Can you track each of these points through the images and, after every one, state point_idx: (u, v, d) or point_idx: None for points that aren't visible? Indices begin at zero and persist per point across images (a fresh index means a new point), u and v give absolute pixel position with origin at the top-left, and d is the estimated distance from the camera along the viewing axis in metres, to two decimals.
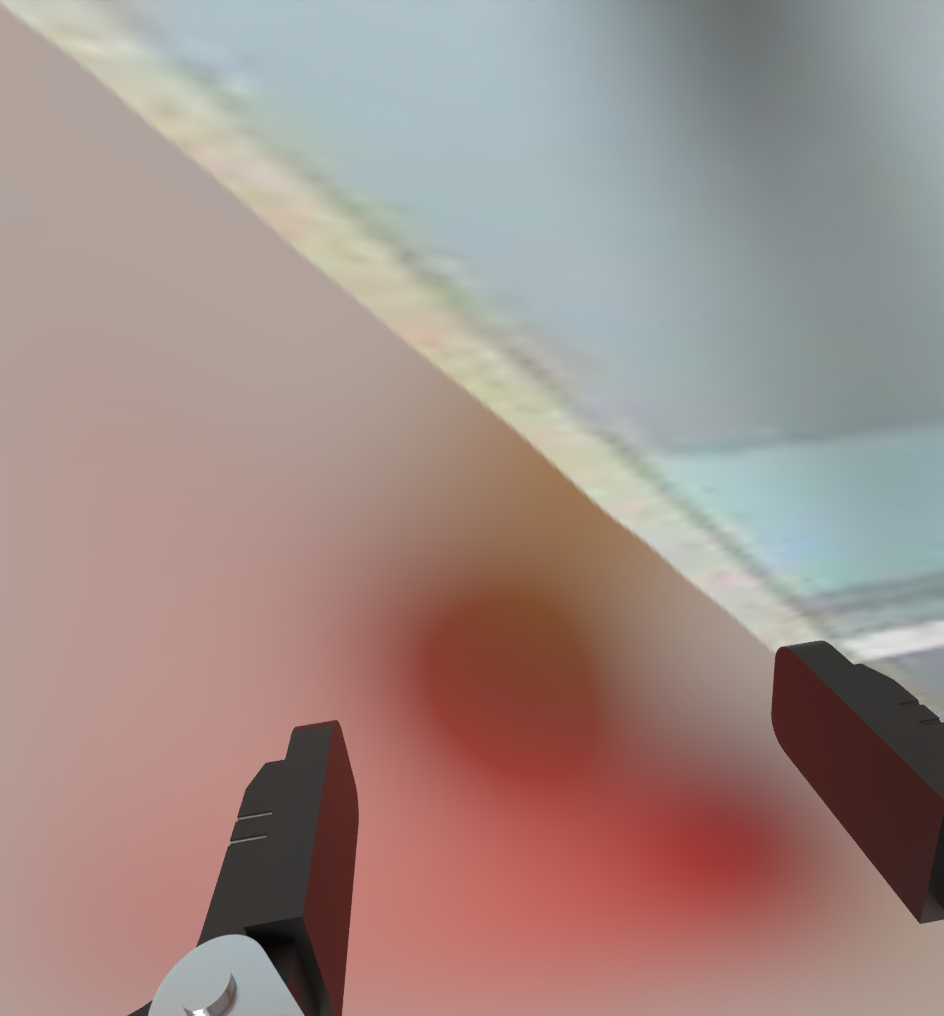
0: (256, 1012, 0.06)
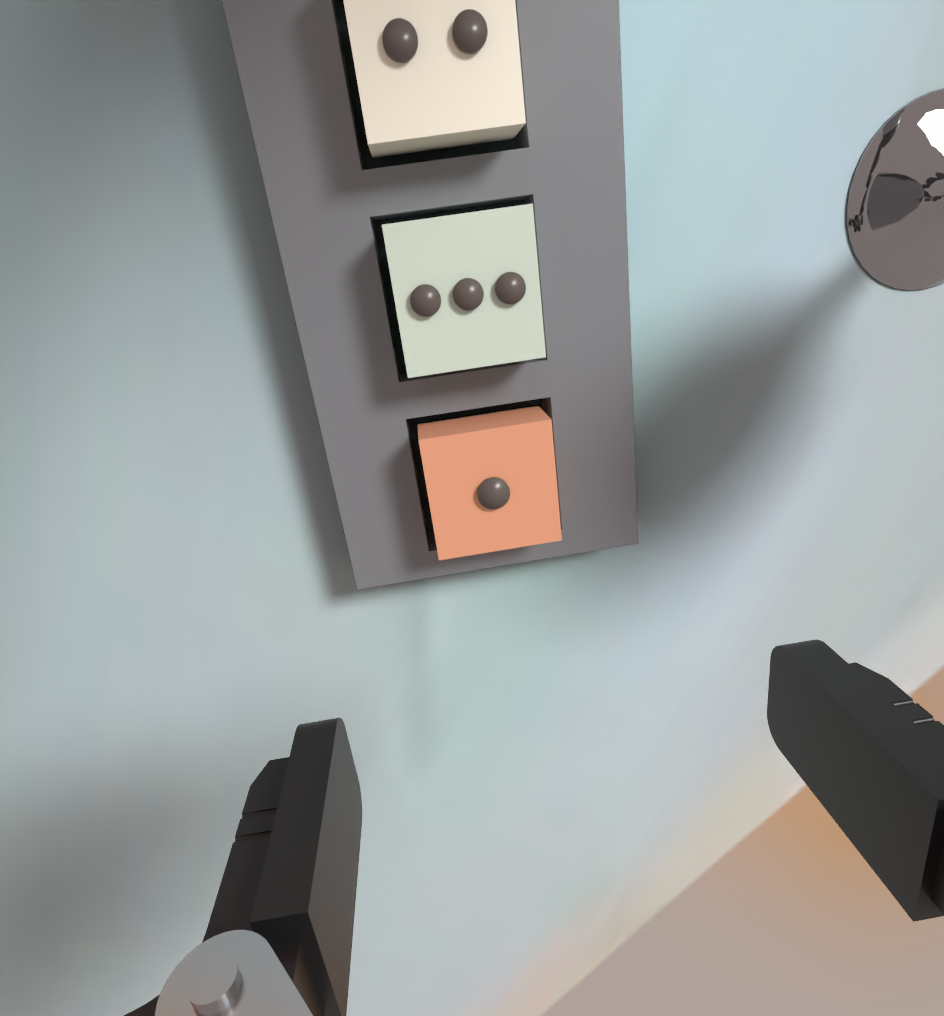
0: (263, 1006, 0.06)
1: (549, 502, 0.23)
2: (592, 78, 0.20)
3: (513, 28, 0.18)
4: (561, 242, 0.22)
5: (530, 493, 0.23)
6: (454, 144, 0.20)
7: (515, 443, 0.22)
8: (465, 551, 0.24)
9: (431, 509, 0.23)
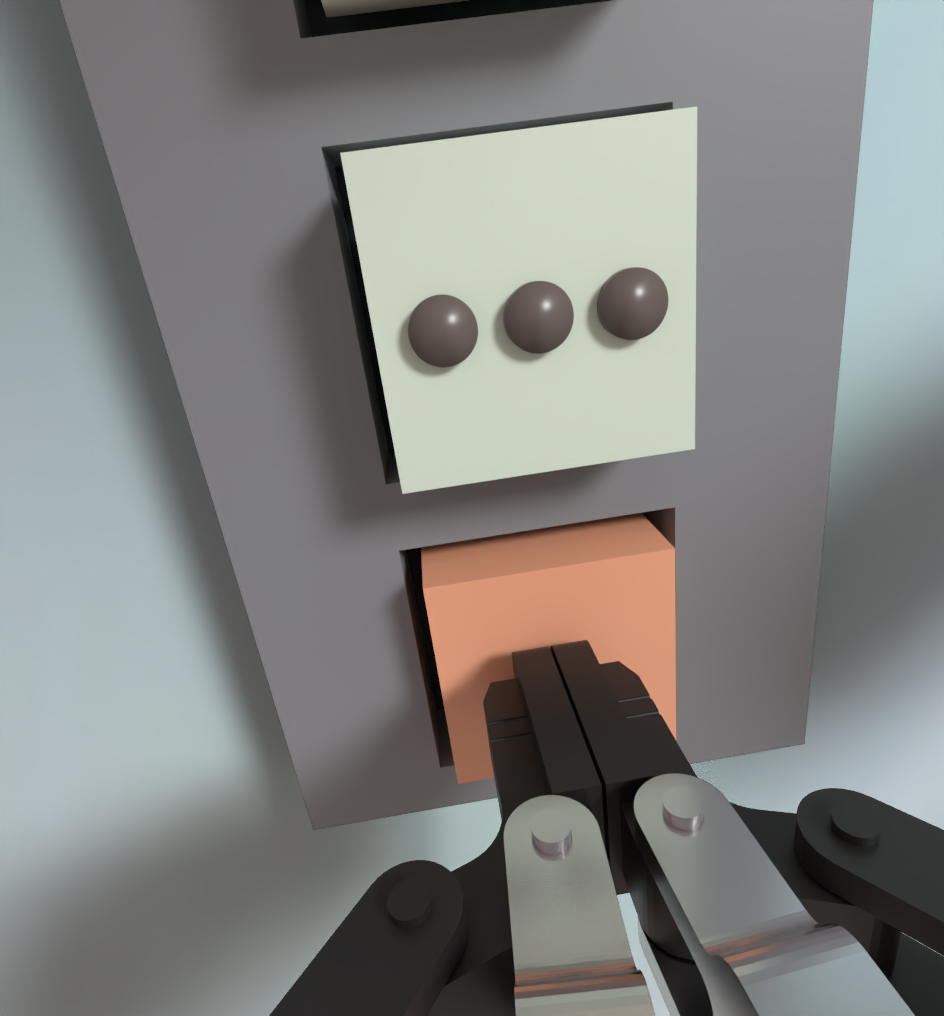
0: (603, 848, 0.07)
1: (659, 687, 0.13)
2: None
3: None
4: (722, 207, 0.10)
5: None
6: None
7: (605, 591, 0.12)
8: None
9: (445, 704, 0.12)
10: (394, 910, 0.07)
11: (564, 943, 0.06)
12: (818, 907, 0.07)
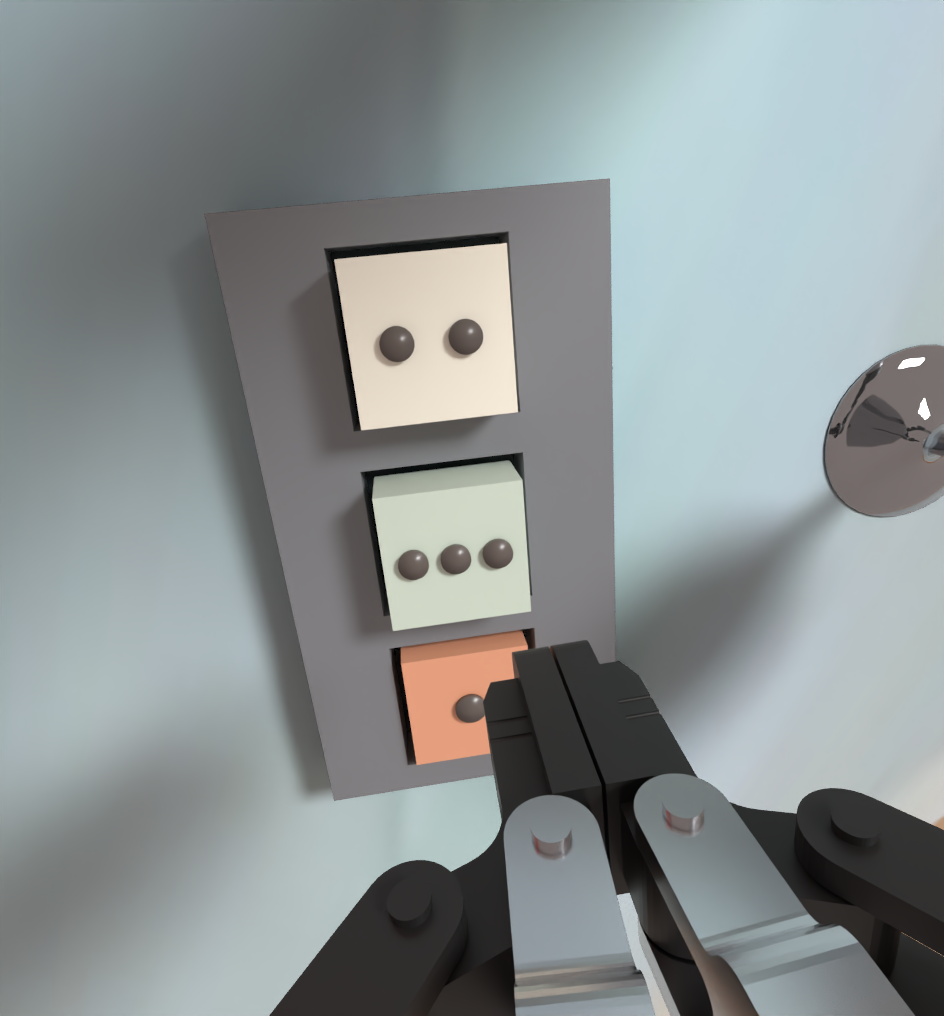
0: (603, 848, 0.07)
1: None
2: (584, 353, 0.20)
3: (508, 333, 0.18)
4: (549, 493, 0.22)
5: None
6: None
7: (493, 665, 0.24)
8: (442, 757, 0.25)
9: (411, 722, 0.24)
10: (394, 910, 0.07)
11: (564, 943, 0.06)
12: (818, 907, 0.07)
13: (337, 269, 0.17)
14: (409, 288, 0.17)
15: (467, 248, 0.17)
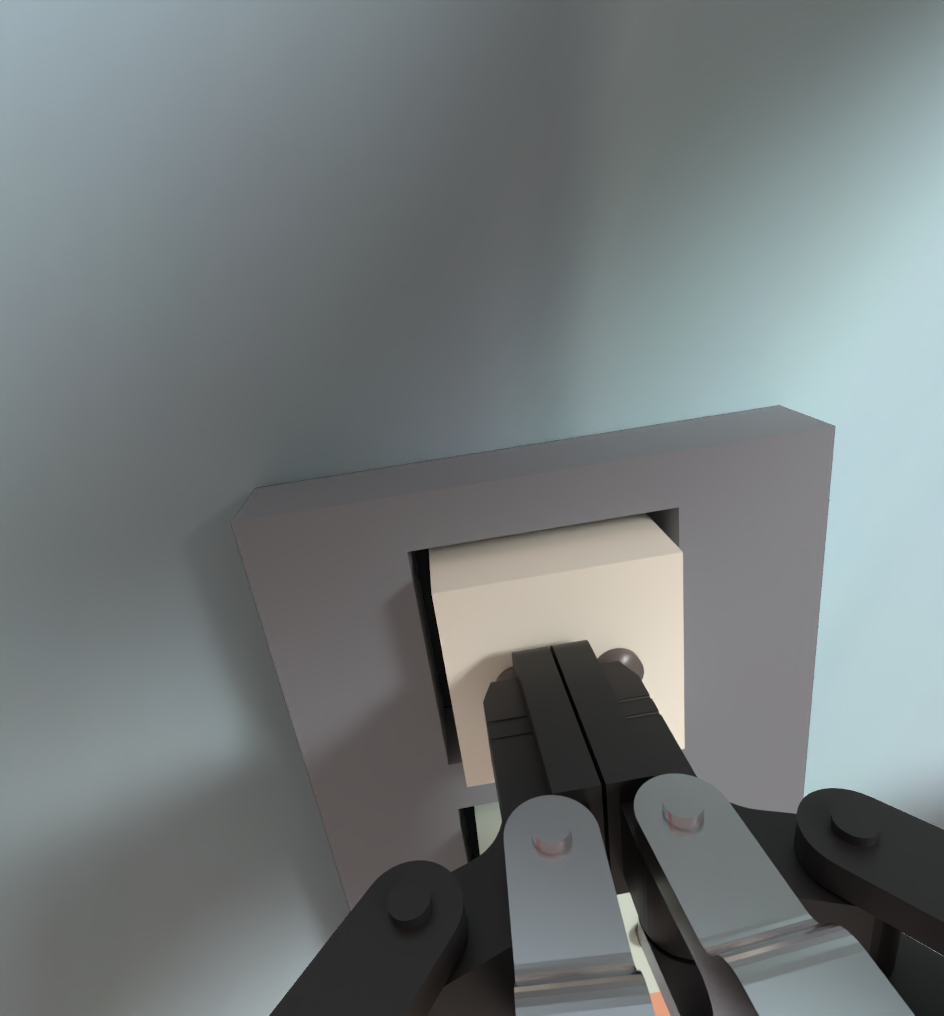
0: (603, 848, 0.07)
1: None
2: (776, 648, 0.14)
3: (678, 660, 0.13)
4: None
5: None
6: None
7: None
8: None
9: None
10: (394, 910, 0.07)
11: (564, 943, 0.06)
12: (818, 907, 0.07)
13: (436, 605, 0.12)
14: (538, 619, 0.12)
15: (625, 563, 0.12)
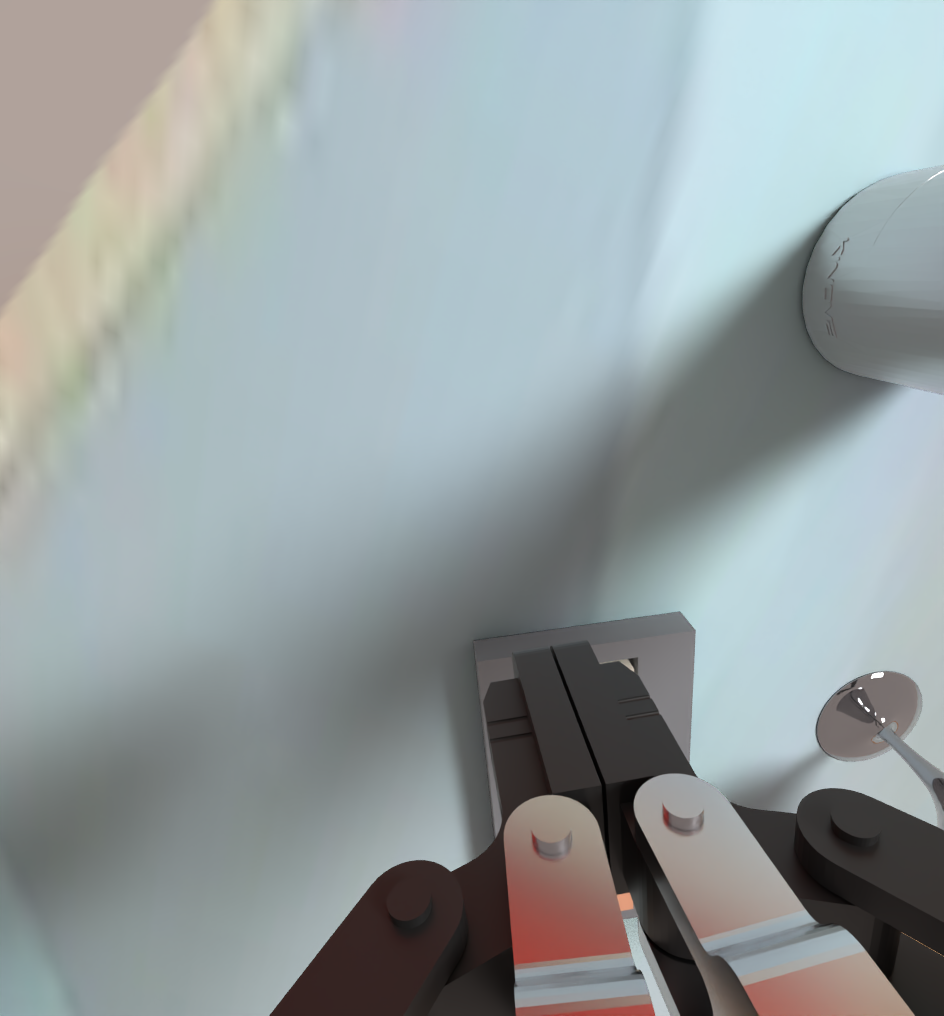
0: (603, 847, 0.07)
1: None
2: (676, 708, 0.35)
3: None
4: None
5: None
6: None
7: None
8: None
9: None
10: (394, 910, 0.07)
11: (564, 943, 0.06)
12: (818, 907, 0.07)
13: None
14: None
15: None
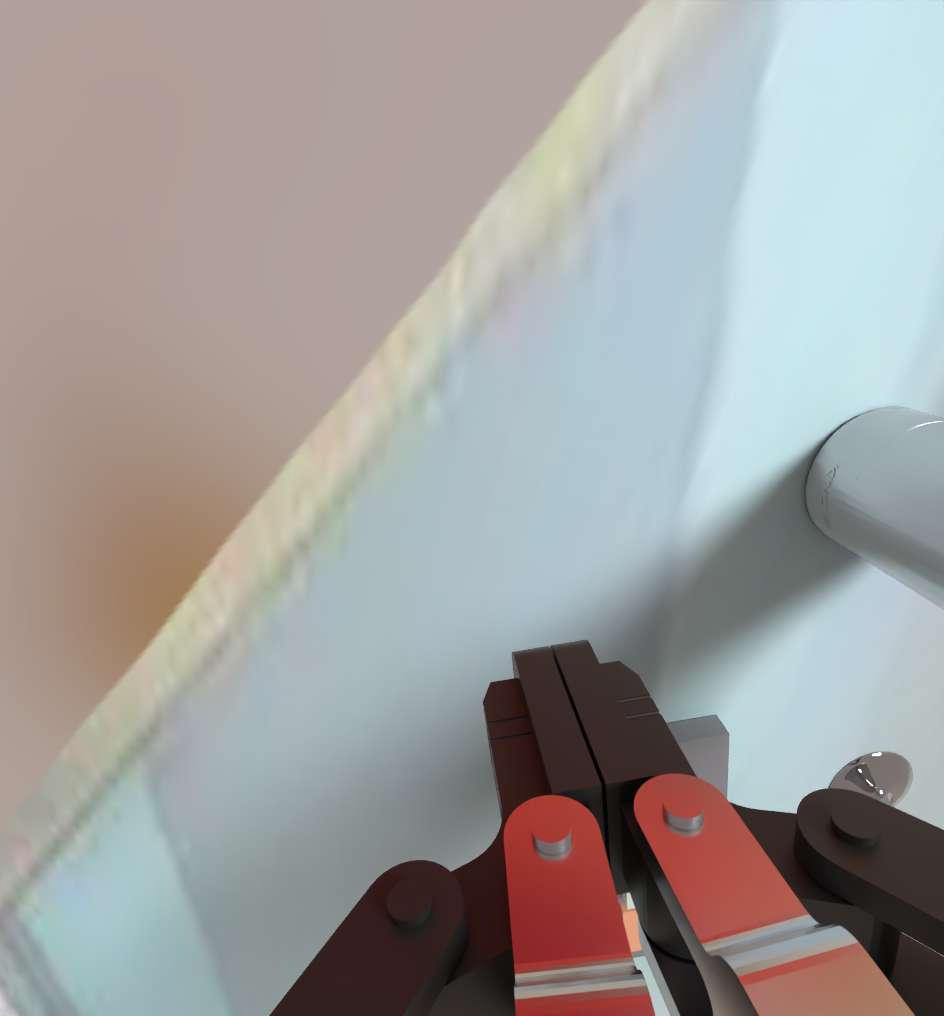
0: (603, 848, 0.07)
1: None
2: None
3: None
4: None
5: None
6: None
7: None
8: (637, 949, 0.50)
9: None
10: (394, 910, 0.07)
11: (564, 943, 0.06)
12: (818, 907, 0.07)
13: None
14: None
15: None
